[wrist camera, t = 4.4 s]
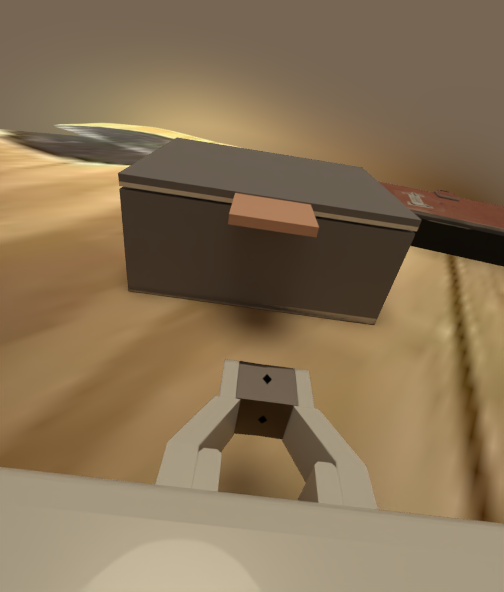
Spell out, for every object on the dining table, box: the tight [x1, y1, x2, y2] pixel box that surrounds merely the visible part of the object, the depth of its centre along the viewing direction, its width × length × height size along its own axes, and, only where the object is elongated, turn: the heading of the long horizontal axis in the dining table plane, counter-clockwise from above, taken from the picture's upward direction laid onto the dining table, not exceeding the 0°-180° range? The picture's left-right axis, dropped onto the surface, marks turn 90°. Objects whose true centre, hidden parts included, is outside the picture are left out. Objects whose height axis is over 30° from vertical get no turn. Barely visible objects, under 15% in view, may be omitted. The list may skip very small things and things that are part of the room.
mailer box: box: [120, 187, 415, 325], centre depth 30 cm, size 20×16×8 cm
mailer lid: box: [118, 138, 422, 237], centre depth 26 cm, size 20×20×1 cm
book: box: [378, 181, 504, 266], centre depth 48 cm, size 26×18×5 cm
